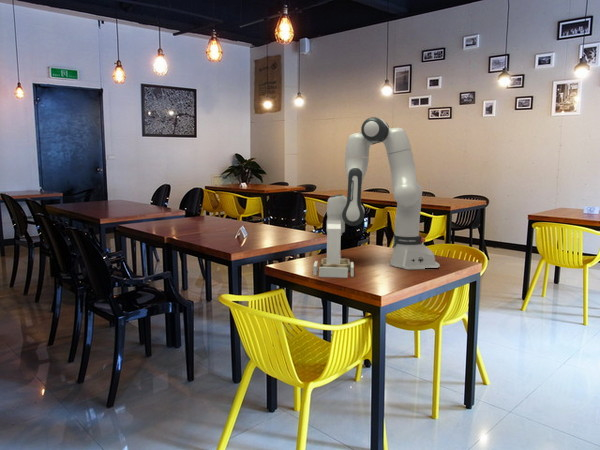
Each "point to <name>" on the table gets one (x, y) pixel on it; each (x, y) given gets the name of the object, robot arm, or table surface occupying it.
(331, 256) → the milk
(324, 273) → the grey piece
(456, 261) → the table surface
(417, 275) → the table surface
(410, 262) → the robot arm
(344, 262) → the frame
